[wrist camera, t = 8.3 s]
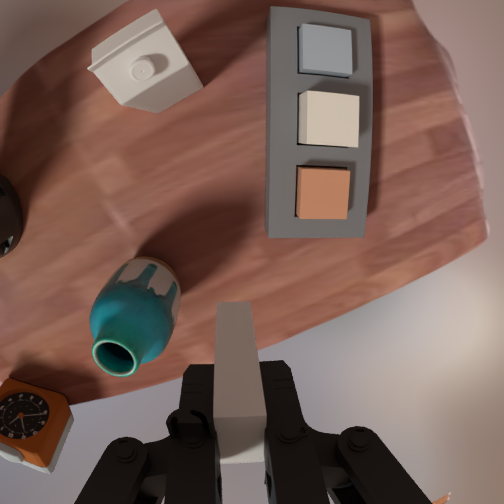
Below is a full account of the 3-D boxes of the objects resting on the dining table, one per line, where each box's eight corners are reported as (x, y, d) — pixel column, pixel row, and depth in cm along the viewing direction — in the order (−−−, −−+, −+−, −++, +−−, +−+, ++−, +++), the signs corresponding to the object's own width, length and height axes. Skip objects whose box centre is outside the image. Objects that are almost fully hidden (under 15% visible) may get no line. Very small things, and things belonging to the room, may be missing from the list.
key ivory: (296, 142, 38) (306, 144, 33) (297, 96, 36) (307, 90, 30) (341, 145, 38) (358, 147, 33) (342, 100, 36) (359, 96, 31)
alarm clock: (67, 393, 56) (34, 463, 37) (76, 417, 59) (50, 484, 40) (6, 375, 54) (-31, 432, 35) (17, 399, 57) (-14, 455, 38)
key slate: (293, 76, 37) (303, 68, 31) (293, 36, 35) (302, 23, 29) (337, 81, 37) (352, 74, 32) (336, 41, 35) (351, 30, 30)
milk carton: (135, 73, 36) (73, 39, 18) (180, 46, 35) (145, -8, 18) (158, 114, 39) (104, 102, 21) (204, 87, 38) (182, 53, 20)
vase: (191, 306, 49) (174, 394, 31) (129, 311, 49) (90, 392, 31) (179, 242, 45) (148, 313, 27) (112, 250, 45) (55, 317, 27)
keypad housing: (264, 226, 45) (268, 237, 40) (266, 19, 34) (270, 6, 30) (351, 226, 46) (363, 237, 41) (356, 29, 35) (370, 19, 30)
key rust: (291, 207, 43) (299, 218, 38) (292, 164, 41) (301, 168, 36) (333, 208, 44) (346, 219, 38) (335, 165, 41) (350, 171, 36)
